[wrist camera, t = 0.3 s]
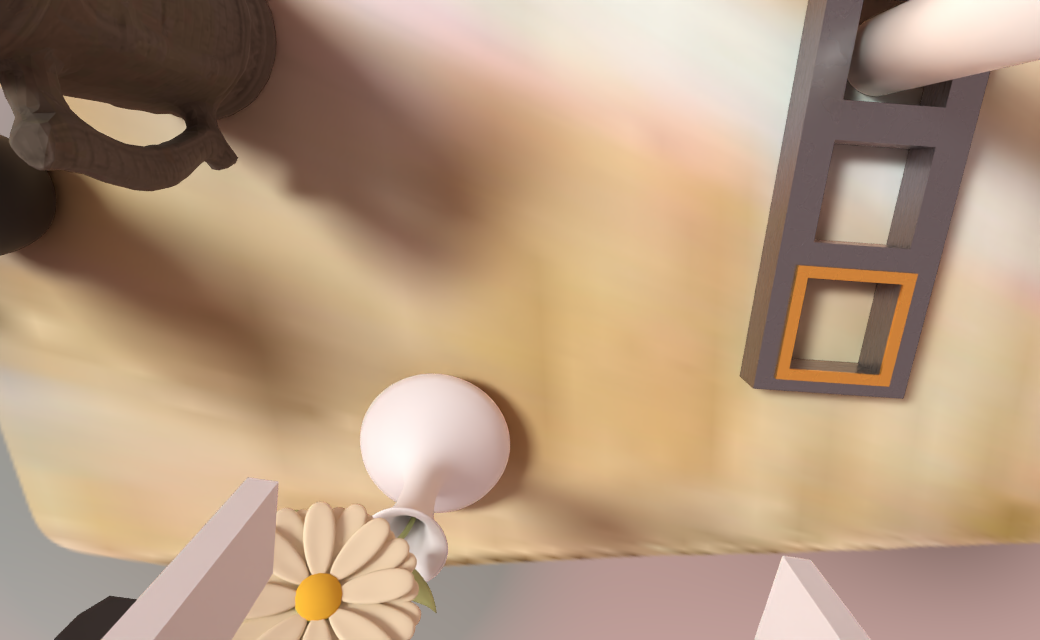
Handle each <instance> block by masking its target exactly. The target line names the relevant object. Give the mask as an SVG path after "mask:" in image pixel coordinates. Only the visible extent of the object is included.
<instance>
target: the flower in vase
mask: <svg viewBox="0 0 1040 640" xmlns="http://www.w3.org/2000/svg"><path fill="white" fill-rule="evenodd" d="M360 447H361V452H362V458H363V461H364V464H365V467H366V470H367V472H368V474H369V476H370V477H371V479H372V480H373V482H374V483H375V484H376V485H377V487H378V488H379V489H380V490H381V491H382V492H383V493H384V494H386V495H387V496H388V497H389V498H391V499H392V500H394V501H395V502H396V503H395V505H394V506H393V507H392V508H388V509H385V510H382V511H380V512H377V513H376V514H374V515H373V516H371V515H369V514H367V512H366V509H365V507H364V506H362V505H360V504H352V505H350V506H349V507H347V508H346V509H344V508H342V507H336V508H334V509H332V508H331V506H330V505H329V504H328V503H326V502H323V501H320V502H316V503H314V504H312V505H311V506H310V508H309V509H308V510H307V509H302V510H293V509H291V508H282V509H280V510H278V511H277V514H276V531H275V547H274V563H273V574H272V576H271V577H270V579H269V581H268V582H267V584H266V585H265V587H264V589H263V590H262V592H261V593H260V595H259V597H258V598H257V600H256V601H255V603H254V605H253V606H252V608H251V609H250V611H249V613H248V614H247V616H246V617H245V619H244V621H243V622H242V624H241V626H240V627H239V629H238V630H237V632H236V634H235V635H234V637H233V638H232V640H410V639H411V637H412V636H413V634H414V632H415V626H416V625H417V624H418V622H419V621H420V618H421V610H420V609H419V607H418V606H416V604H414V603H412V602H411V601H415V602H417V603H420V604H423V605H425V606H427V607H429V608H430V609H432V610H433V611H434V612H436V606H435V602H434V599H433V596H432V593H431V590H430V588H429V586H428V584H427V583H426V582H427V581H429V580H431V579H432V578H434V577H435V576H436V575H437V574H438V573H439V572H440V571H441V569H442V568H443V566H444V564H445V562H446V559H447V555H448V544H447V540H446V536H445V534H444V532H443V530H442V528H441V527H440V525H439V524H438V523H437V522H436V521H435V520H434V513H443V512H451V511H456V510H459V509H462V508H465V507H467V506H469V505H471V504H473V503H475V502H477V501H478V500H480V499H481V498H482V497H483V496H485V495H486V494H487V493H488V492H489V491H490V490H491V489H492V488H493V487H494V486H495V485H496V484H497V482H498V481H499V479H500V478H501V476H502V474H503V472H504V470H505V468H506V465H507V462H508V459H509V454H510V436H509V430H508V426H507V423H506V421H505V418H504V416H503V414H502V413H501V411H500V409H499V407H498V406H497V405H496V404H495V402H494V401H493V400H492V399H491V398H490V397H489V396H488V395H487V394H486V393H485V392H484V391H482V390H481V389H480V388H478V387H477V386H475V385H473V384H471V383H470V382H468V381H465V380H463V379H461V378H457V377H454V376H450V375H444V374H419V375H415V376H410V377H407V378H405V379H402V380H400V381H398V382H396V383H394V384H392V385H390V386H389V387H388V388H386V389H385V390H383V391H382V392H381V393H380V394H379V395H378V396H377V397H376V398H375V400H374V401H373V402H372V403H371V405H370V407H369V408H368V410H367V412H366V414H365V416H364V419H363V422H362V426H361V433H360Z"/></svg>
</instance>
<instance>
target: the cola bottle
mask: <svg viewBox="0 0 1040 640" xmlns="http://www.w3.org/2000/svg"><path fill="white" fill-rule="evenodd" d="M55 210H56V194H55V189H54V186H53V183H52V180H51V178H50V176H49V174H48V172H47V171H46V170H38V169H36V168H34V167H32V166H30V165H28V164H27V163H26V162H25V161H24V160H23V159H21V158H20V157H19V156H18V155H17V154H16V153H15V151H14V150H13V149H12V148H11V146H10V143H9V138H7V137H4V136H2V135H0V255H4V254H7V253H11V252H13V251H16V250H19V249H21V248H23V247H25V246H27V245H29V244H31V243H32V242H34V241H35V240H37V239H38V238H39V237H41V236H42V235H43V234H44V233H45V232H46V230H47V229H48V228H49V226H50V225H51V223H52V220H53V218H54V215H55Z"/></svg>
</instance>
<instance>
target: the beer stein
mask: <svg viewBox="0 0 1040 640" xmlns="http://www.w3.org/2000/svg"><path fill="white" fill-rule="evenodd" d="M275 49H276V36H275V27H274V23H273V18H272V14H271V11H270V9H269V7H268V4H267V2H266V0H0V83H1V86H2V89H3V92H4V95H5V97H6V99H7V101H8V103H9V104H10V106H11V109H12V111H13V113H14V115H15V120H14V123H13V126H12V129H11V132H10V137H9V143H10V146H11V148H12V149H13V150H14V151H15V153H16V154H17V155H18V156H19V157H20V158H21V159H23V160H24V161H25V162H26V163H27V164H28V165H30V166H32V167H34V168H36V169H38V170H64V171H70V172H75V173H80V174H85V175H87V176H90V177H92V178H95V179H97V180H100V181H102V182H105V183H109V184H113V185H117V186H121V187H125V188H129V189H133V190H139V191H155V190H160V189H164V188H169V187H172V186H175V185H177V184H178V183H180V182H181V181H183V180H184V179H185V178H187V177H188V176H189V175H190V174H191V173H192V172H193V171H194V170H195V169H196V168H197V167H198V166H199V165H200V164H201V163H202V162H204V161H205V162H207V163H208V165H209V166H210V167H211V168H212V169H215V170H221V169H226V168H229V167H230V166H232V165H233V164H235V163H236V161H237V159H238V157H237V156H236V154H235V153H234V151H233V150H232V149H231V147H230V146H229V145H228V143H227V142H226V140H225V138H224V137H223V135H222V133H221V131H220V129H219V128H218V125H217V121H216V119H220V118H223V117H226V116H230V115H233V114H235V113H236V112H238V111H240V110H241V109H243V108H245V107H246V106H248V105H249V104H250V103H251V102H252V101H253V100H254V99H255V98H256V97H257V96H258V94H259V93H260V91H261V90H262V88H263V87H264V85H265V84H266V83H267V81H268V79H269V76H270V73H271V70H272V67H273V64H274V60H275ZM63 95H64V96H69V97H75V98H81V99H87V100H93V101H99V102H104V103H109V104H111V105H113V106H115V107H120V108H125V109H131V110H141V111H145V112H150V113H154V114H173V115H175V116H177V117H181V118H183V119H184V120H185V123H186V126H187V128H186V129H185V131H184V132H183V133H181V134H180V135H178V136H176V137H175V138H173V139H172V140H170V141H167V142H163V143H161V144H159V145H148V146H145V147H143V146H136V145H129V144H124V143H122V142H120V141H117V140H115V139H113V138H111V137H109V136H107V135H104V134H102V133H100V132H98V131H97V130H95V129H94V128H93V127H91V126H90V125H88V124H87V123H86V122H84V121H83V120H81V119H80V118H79V117H78V116H77V115H76V114H75V113H74V112H73V111H72V110H71V109H70V107H69V106H68V104H67V103H66V101H65V99H64V97H63Z"/></svg>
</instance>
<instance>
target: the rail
mask: <svg viewBox="0 0 1040 640" xmlns="http://www.w3.org/2000/svg"><path fill="white" fill-rule="evenodd" d="M898 1H909V0H898ZM862 5H863V0H809V1H808V6H807V11H806V17H805V22H804V28H803V33H802V39H801V44H800V50H799V55H798V61H797V66H796V72H795V77H794V83H793V88H792V93H791V99H790V104H789V110H788V115H787V121H786V126H785V132H784V137H783V143H782V148H781V154H780V159H779V165H778V170H777V176H776V181H775V186H774V192H773V197H772V203H771V208H770V214H769V219H768V225H767V230H766V236H765V241H764V247H763V252H762V258H761V263H760V269H759V274H758V279H757V285H756V290H755V296H754V301H753V307H752V312H751V318H750V323H749V329H748V334H747V340H746V345H745V351H744V356H743V361H742V367H741V372H740V377H741V378H742V379H743V380H744V381H746V382H747V383H748V384H749V385H750V386H751V387H752V388H754V389H769V390H784V391H798V392H813V393H828V394H843V395H857V396H872V397H887V398H902V399H903V398H904V394H905V391H906V387H907V383H908V379H909V376H910V372H911V368H912V364H913V361H914V357H915V353H916V349H917V345H918V342H919V338H920V334H921V330H922V327H923V323H924V319H925V315H926V312H927V308H928V304H929V300H930V296H931V293H932V289H933V285H934V281H935V278H936V274H937V270H938V266H939V263H940V259H941V255H942V251H943V247H944V244H945V240H946V236H947V232H948V229H949V225H950V221H951V217H952V214H953V210H954V206H955V202H956V198H957V195H958V191H959V187H960V183H961V180H962V176H963V172H964V168H965V165H966V161H967V157H968V153H969V149H970V146H971V142H972V138H973V134H974V131H975V127H976V123H977V119H978V116H979V112H980V108H981V104H982V100H983V97H984V93H985V89H986V85H987V82H988V78H989V74H990V71H988V72H983V73H979V74H974V75H970V76H965V77H961V78H957V79H952V80H948V81H943V82H939V83H935V84H930V85H926V86H924V90H923V94H922V98H921V103H920V106H917V105H904V104H892V103H879V102H866V101H853V100H843V98H844V93H845V88H846V83H847V78H848V73H849V68H850V64H851V59H852V54H853V49H854V44H855V39H856V34H857V29H858V25H859V20H860V15H861V10H862ZM834 143H835V144H849V145H862V146H875V147H888V148H901V149H909V153H908V157H907V161H906V165H905V169H904V174H903V178H902V182H901V186H900V190H899V195H898V199H897V203H896V207H895V211H894V216H893V220H892V224H891V228H890V232H889V236H888V241H887V245H882V244H868V243H855V242H841V241H827V240H814V239H815V234H816V229H817V224H818V219H819V214H820V210H821V205H822V200H823V195H824V190H825V185H826V180H827V175H828V171H829V166H830V161H831V156H832V151H833V146H834ZM808 278H817V279H831V280H845V281H859V282H873V283H877V287H876V291H875V295H874V299H873V303H872V308H871V312H870V316H869V320H868V324H867V329H866V333H865V337H864V341H863V345H862V349H861V354H860V358H859V362H858V363H850V362H835V361H821V360H806V359H792V353H793V348H794V344H795V339H796V334H797V329H798V324H799V319H800V314H801V310H802V305H803V300H804V295H805V290H806V285H807V281H808Z"/></svg>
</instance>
